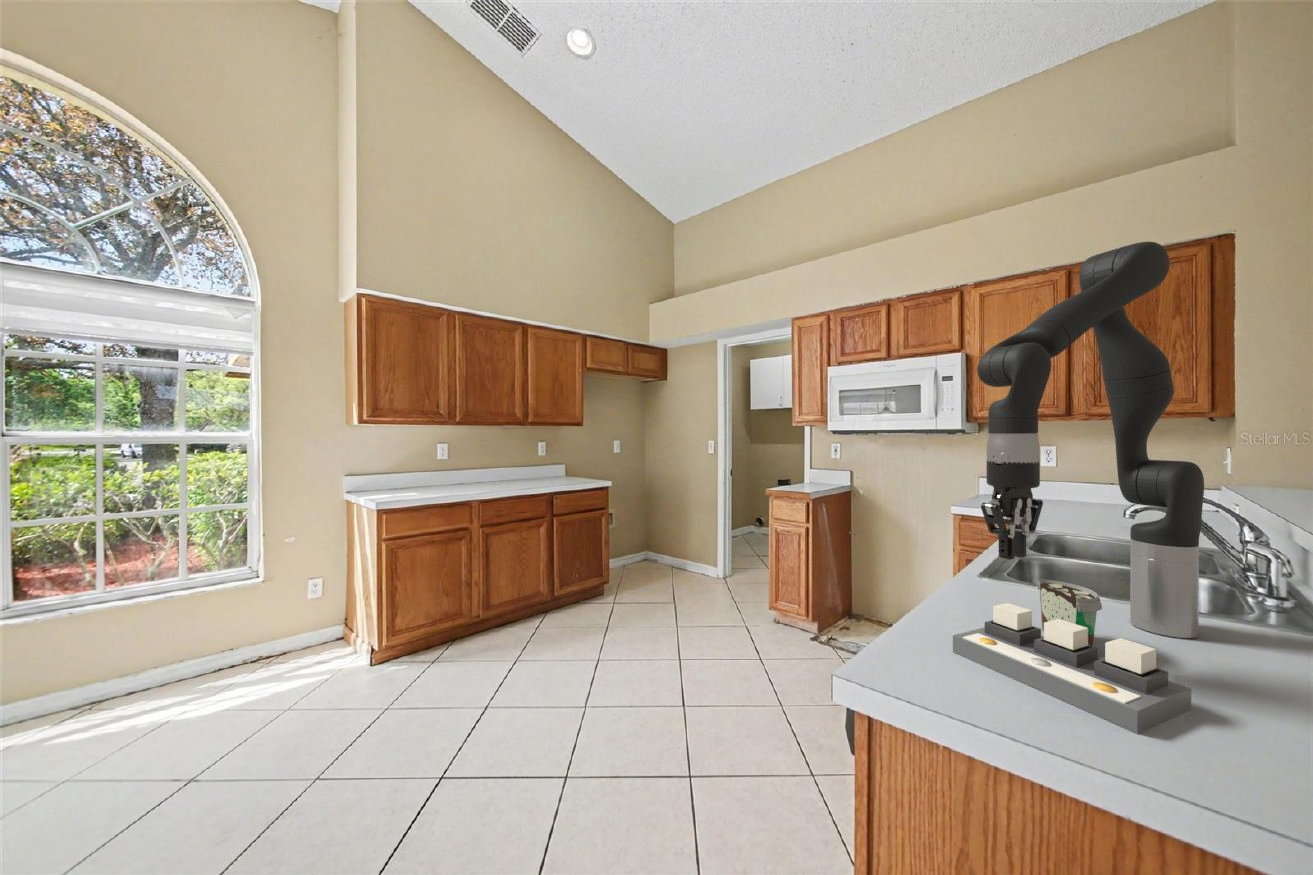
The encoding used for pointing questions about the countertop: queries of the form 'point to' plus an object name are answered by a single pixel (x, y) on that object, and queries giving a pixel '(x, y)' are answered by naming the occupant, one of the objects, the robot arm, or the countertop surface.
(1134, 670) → the button right
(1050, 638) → the button middle
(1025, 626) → the button left
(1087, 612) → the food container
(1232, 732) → the countertop surface
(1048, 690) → the button board
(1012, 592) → the countertop surface
